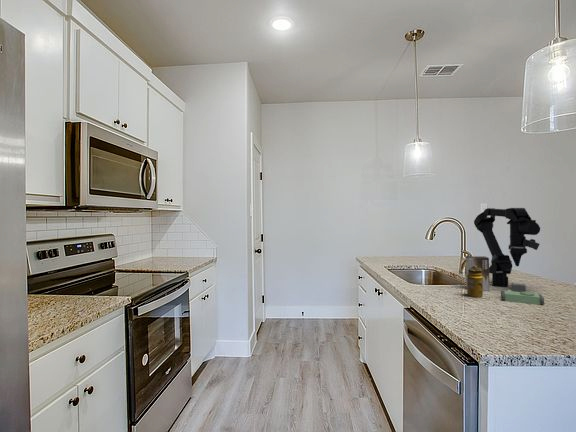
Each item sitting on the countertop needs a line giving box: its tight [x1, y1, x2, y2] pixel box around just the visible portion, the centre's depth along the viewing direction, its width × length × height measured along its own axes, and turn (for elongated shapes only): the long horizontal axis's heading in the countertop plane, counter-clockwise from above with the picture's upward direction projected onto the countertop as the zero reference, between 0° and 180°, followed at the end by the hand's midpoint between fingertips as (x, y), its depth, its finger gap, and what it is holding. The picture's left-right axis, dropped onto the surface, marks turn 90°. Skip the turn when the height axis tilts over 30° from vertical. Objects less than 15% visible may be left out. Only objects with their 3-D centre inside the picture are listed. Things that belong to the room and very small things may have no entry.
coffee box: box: [465, 255, 491, 292], centre depth 162 cm, size 9×6×16 cm
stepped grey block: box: [510, 282, 527, 292], centre depth 153 cm, size 5×6×4 cm
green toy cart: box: [500, 289, 545, 306], centre depth 142 cm, size 14×12×4 cm
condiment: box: [459, 269, 487, 299], centre depth 149 cm, size 7×8×12 cm
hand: (517, 266), depth 158 cm, fingers closed
